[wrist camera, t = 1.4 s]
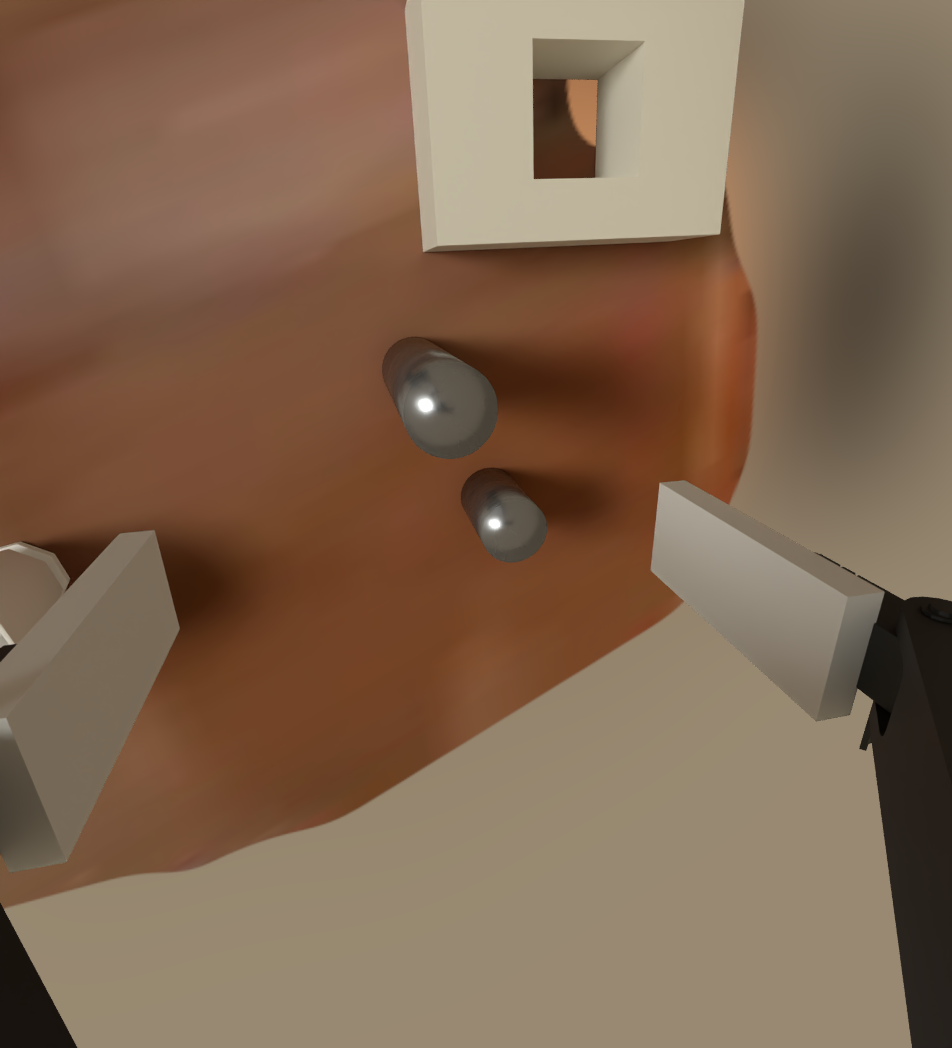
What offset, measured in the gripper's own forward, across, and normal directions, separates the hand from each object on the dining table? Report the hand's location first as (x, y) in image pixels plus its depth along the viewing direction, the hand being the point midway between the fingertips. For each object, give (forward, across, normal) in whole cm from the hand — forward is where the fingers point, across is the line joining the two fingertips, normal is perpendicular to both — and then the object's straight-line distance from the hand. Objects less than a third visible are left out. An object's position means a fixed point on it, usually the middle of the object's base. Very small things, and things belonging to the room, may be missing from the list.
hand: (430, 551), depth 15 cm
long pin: (+20, +2, +2) cm, 20 cm away
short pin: (+20, +6, -6) cm, 21 cm away
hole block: (+19, +10, +13) cm, 25 cm away
